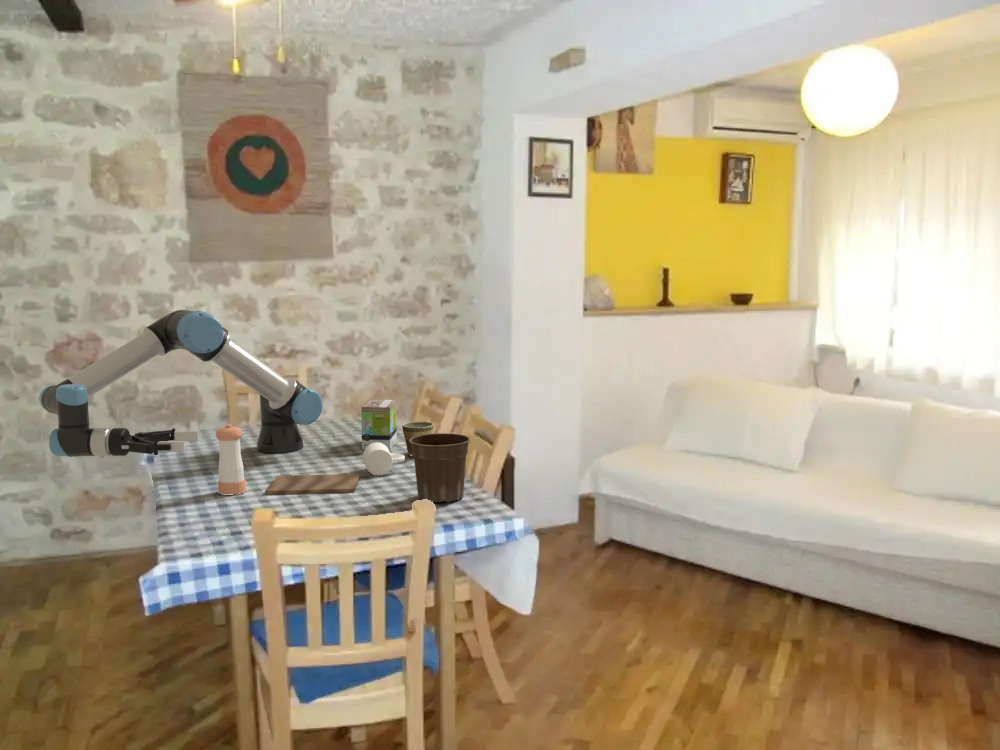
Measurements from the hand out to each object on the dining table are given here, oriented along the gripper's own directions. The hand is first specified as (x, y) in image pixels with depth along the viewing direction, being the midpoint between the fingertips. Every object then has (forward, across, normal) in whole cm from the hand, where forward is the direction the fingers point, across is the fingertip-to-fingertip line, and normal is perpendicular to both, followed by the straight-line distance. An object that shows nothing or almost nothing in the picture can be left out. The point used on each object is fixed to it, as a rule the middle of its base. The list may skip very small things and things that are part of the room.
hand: (191, 440), depth 241 cm
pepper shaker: (+10, 0, -15) cm, 18 cm away
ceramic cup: (+60, -41, -14) cm, 74 cm away
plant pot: (+68, +10, -14) cm, 70 cm away
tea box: (+47, -55, -14) cm, 74 cm away
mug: (+51, -20, -14) cm, 56 cm away
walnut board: (+32, -5, -14) cm, 36 cm away
